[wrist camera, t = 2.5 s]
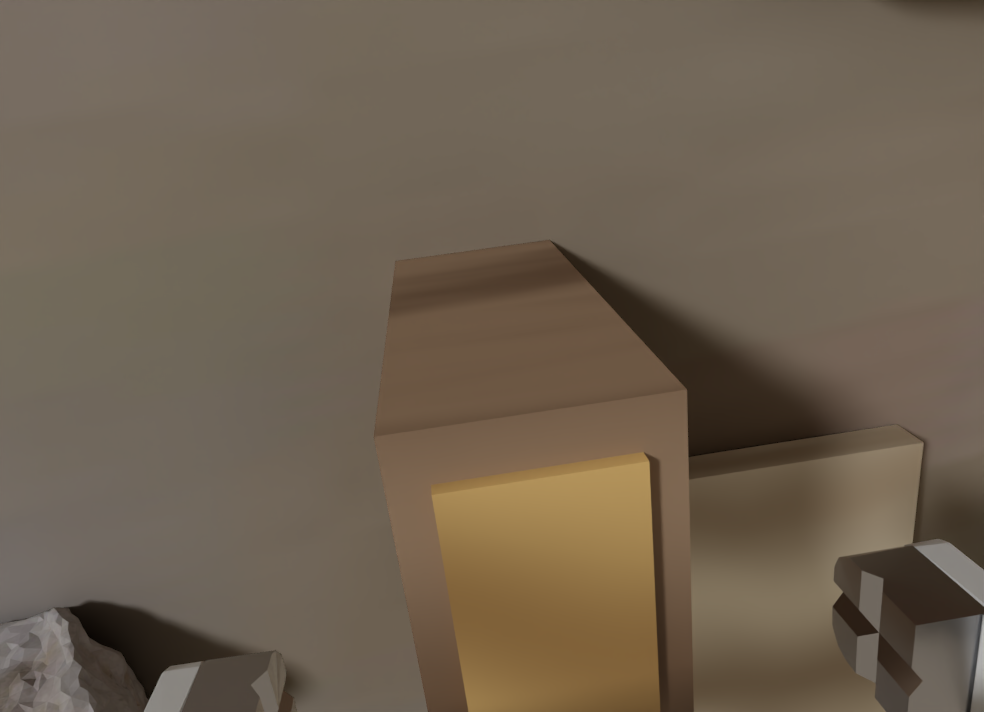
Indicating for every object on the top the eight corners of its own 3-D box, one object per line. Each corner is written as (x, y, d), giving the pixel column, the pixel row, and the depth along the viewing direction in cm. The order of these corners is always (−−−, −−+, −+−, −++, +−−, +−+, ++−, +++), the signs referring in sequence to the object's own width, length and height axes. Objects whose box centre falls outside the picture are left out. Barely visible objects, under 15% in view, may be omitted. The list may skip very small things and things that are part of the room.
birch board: (503, 486, 21) (508, 508, 20) (896, 424, 21) (923, 442, 20) (546, 819, 26) (552, 852, 25) (864, 761, 26) (884, 791, 25)
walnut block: (395, 261, 18) (372, 446, 9) (549, 239, 18) (694, 397, 9) (430, 465, 20) (442, 797, 11) (567, 444, 20) (700, 751, 11)
